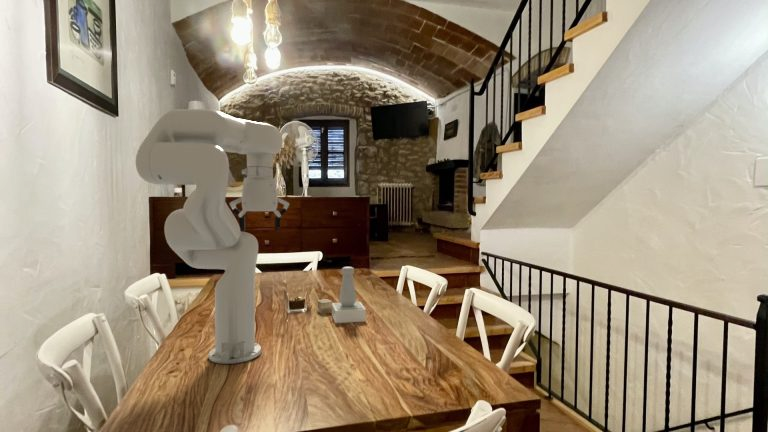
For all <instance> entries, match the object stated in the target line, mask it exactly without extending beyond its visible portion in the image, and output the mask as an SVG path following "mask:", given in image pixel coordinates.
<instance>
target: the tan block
mask: <svg viewBox="0 0 768 432" xmlns="http://www.w3.org/2000/svg"><path fill="white" fill-rule="evenodd" d="M332 303H334V302H333V301H332V300H331V299H328V298H326V299H319V300H317V303H316V305H317V307H316V308H317V309H316V310H317V312H318V313H320V314H321V315H324V314H332Z"/></svg>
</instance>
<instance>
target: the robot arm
mask: <svg viewBox="0 0 768 432" xmlns="http://www.w3.org/2000/svg"><path fill="white" fill-rule="evenodd" d="M283 142H284V141H283V135H282V133H281V132H280V129H279V128H278V127H276V126H274V125H272V124H269V123H264V122H257V121H252V120H248V119H243V118H237V117H234V116H232V115H229V114H226V113H225V112H222V111H219V110H216V109H209V108H208V109H206V108H205V109H204V108H195V109H194V108H188V109H187V108H184V109H183V108H174V109H171V110H169V111H167V112H166V113H164V114H163V115H162V116H161V117H160V118H159V119H158V121H156V123H155V124H154V125H153V126H152V128H151V129H150V131H149V132H148V133H147V135H146V137H145V138H144V139H143V141H142V142H141V144H140V146H139V147H138V149H137V153H136V156H135V167H136V168H135V169H136V170H137V173H138V175H139V177H140V178H141V179H142V180H144V181H145V182H147V183H149V184H154V185H175V186H177V185H182V186H185V185H186V186H187V185H188V186H191V185H193V186H195V189H194V190H193V191H192V192H191V193H190V194H189V195H188V197H187V198H186V200H185V201H184V204H183V207H182V208H179V209H176V210H174V211H172V212H171V213H170V214H169V215H168V216H167V217H166V220H165V222H164V227H163V228H164V229H163V230H164V231H163V232H164V236H165V240H166V243H167V245H168V246H169V248H170V249H171V250H172V251H173V252H174V253H175V254H176V255H177V256H178V257H179V258H180V259H182V261H184V263H185V264H186V265H188V266H189V267H191V268H195V269H199V270H200V269H203V270H205V269H206V270H224V272H223V274H222V275H221V277H219V279H218V281H217V282H216V285H215V286H214V287H215V288H214V328H215V330H214V333H215V334H214V339H215V341H214V342H215V343H214V344H215V345H214V347H213V348H212V349H210V351H209V352H208V359H209V360H210V362H213V363H216V364H224V365H225V364H226V365H227V364H228V365H229V364H238V363H244V362H248V361H252V360H253V359H255V358H257V357H258V356H260V355H261V352H262V346H261V345H260V344H259V343H256V326H255V325H256V324H255V323H256V321H255V320H256V319H255V318H256V317H255V316H256V315H255V314H256V313H255V312H256V309H255V308H256V307H255V305H256V304H255V303H256V302H255V301H256V300H255V299H256V297H255V295H256V294H255V291H256V290H255V289H256V287H255V283H256V281H255V280H256V279H255V278H256V269H257V261H258V254H259V241H258V239H257V238H256V236H255V235H253V234H251V233H249V232H246V217H245V215H246V214H247V212H273V213H274V215H275V218H274V223H275V224H274V225H275V226H274V230H275V231H276V232H277V231H279V230H278V229H279V228H281V217H282V216H283V215H284V214H285V213H286V212H287V210H288V208H289V206H290V202H288V201H286V200H284V199H282V198H281V197H279V196H278V187H277V180H276V178H274V169H273V168H274V166H273V165H274V159H273V158H274V157H273V155H277V154H279V153H280V152H281V150H282V148H283ZM226 152H227V153H236V154H239V155H246V168H244V169H241V174H242V175H245V176H246V177H243V182H242V189H241V190H242V191H241V192H242V193H241V197H239V198H236V199H234V200H232V201H231V202H229V206H230V207H229V206H228V204H227V202H226V198H227V191H228V190H227V189H228V184H229V174H230V173H229V172H230V162H229V158H228V154H227V153H226ZM240 203H241V208H242V210H241V211H240V209H238V208H237V204H240ZM279 203H280V204H282V206H283V207H282V209H281V210H280V211H279V210H278V209H277V208H278V204H279ZM230 208H231V209H232V210H231V209H230ZM232 211H233V212H232ZM233 213H234V214H235V215H236V216H237V217H239V221H238V220H237V219H236V217H235V215H234V214H233Z"/></svg>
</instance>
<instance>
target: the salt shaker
mask: <svg viewBox="0 0 768 432" xmlns="http://www.w3.org/2000/svg"><path fill="white" fill-rule="evenodd" d="M341 274H342V280H341V281H342V282H341V286H340V292H339V301H340V302H339V303H341V305H342V306H343V307H352V306H353V305H354V303H355V302H357V293H356V287H355V281H354V276H353V275H354V274H355V268H354V267H352V266H343V267H342V268H341Z"/></svg>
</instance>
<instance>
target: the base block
mask: <svg viewBox="0 0 768 432" xmlns="http://www.w3.org/2000/svg"><path fill="white" fill-rule="evenodd" d="M366 314H367V309H366V307H365V306H364V305H363V303H362V301H356V302H355V303H354V305H353V306H352V307H343V306H342V305H341V302H333V303H332V313H331V316H332V319H333V321H334V323H335V324H345V323H362V322H366V321H367V318H366V317H367V315H366Z"/></svg>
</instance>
